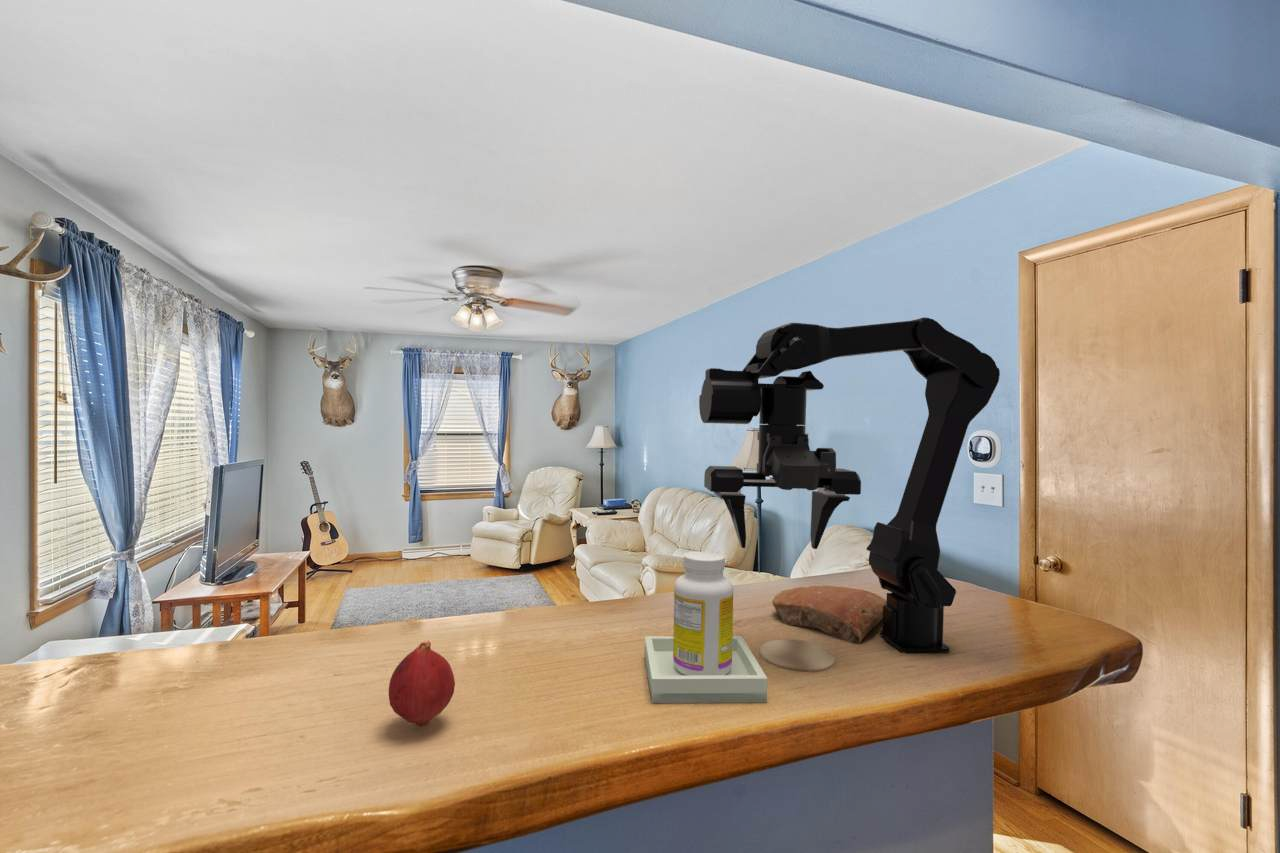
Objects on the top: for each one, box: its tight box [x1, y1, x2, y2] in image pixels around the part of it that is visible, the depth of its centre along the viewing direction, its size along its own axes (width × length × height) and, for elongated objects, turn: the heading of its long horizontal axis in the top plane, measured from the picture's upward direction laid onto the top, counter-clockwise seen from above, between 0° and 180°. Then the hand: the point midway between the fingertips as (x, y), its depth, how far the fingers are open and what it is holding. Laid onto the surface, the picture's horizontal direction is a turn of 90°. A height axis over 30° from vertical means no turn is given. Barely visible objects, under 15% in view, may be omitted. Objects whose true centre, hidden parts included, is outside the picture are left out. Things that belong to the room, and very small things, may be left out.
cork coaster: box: [759, 638, 836, 672], centre depth 75 cm, size 9×9×1 cm
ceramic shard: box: [771, 585, 887, 644], centre depth 89 cm, size 15×6×15 cm
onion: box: [388, 640, 456, 727], centre depth 57 cm, size 6×6×8 cm
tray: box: [643, 635, 768, 704], centre depth 68 cm, size 12×12×2 cm
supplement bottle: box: [673, 550, 734, 676], centre depth 68 cm, size 7×7×13 cm
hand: (778, 547), depth 77 cm, fingers open, 9 cm apart
